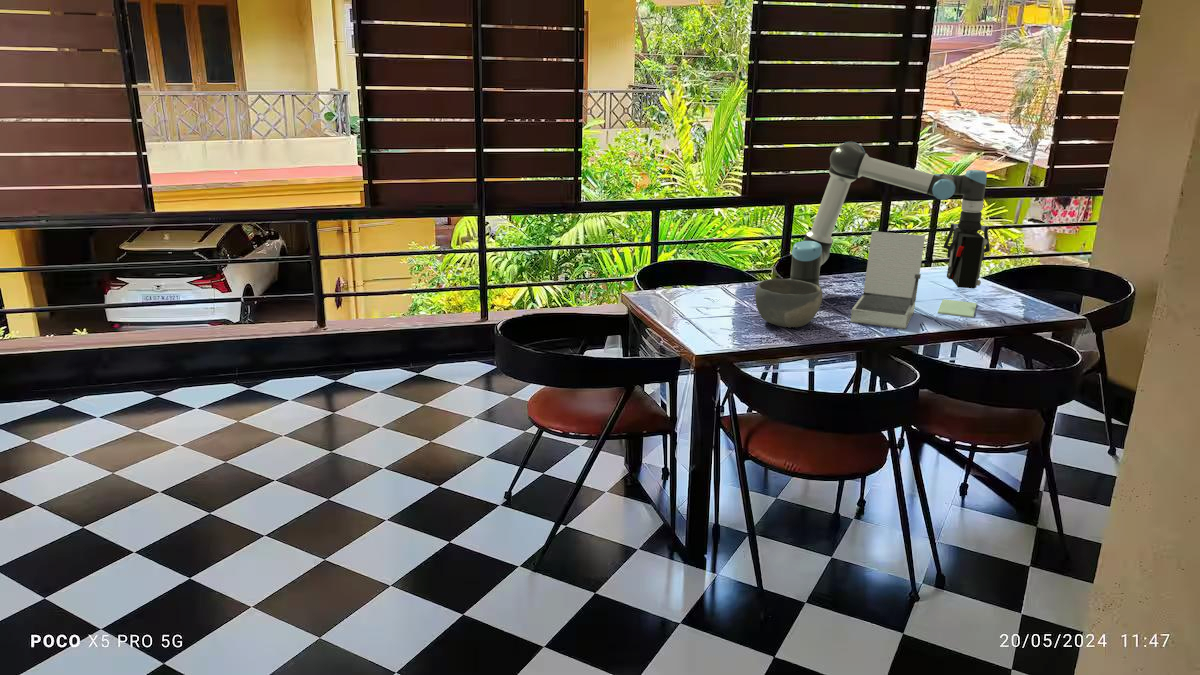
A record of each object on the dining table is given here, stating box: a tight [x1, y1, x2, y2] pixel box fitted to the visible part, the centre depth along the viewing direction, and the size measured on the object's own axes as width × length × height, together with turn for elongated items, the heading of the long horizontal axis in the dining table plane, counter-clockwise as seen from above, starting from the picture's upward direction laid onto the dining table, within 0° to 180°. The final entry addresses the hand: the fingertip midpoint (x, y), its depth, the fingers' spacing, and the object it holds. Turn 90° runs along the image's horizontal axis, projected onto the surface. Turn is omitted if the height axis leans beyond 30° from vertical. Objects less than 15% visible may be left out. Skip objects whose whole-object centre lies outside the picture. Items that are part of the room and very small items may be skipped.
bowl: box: [754, 278, 823, 329], centre depth 315 cm, size 24×24×15 cm
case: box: [850, 230, 926, 330], centre depth 325 cm, size 20×31×30 cm, turn 154°
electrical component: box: [946, 227, 988, 289], centre depth 332 cm, size 18×10×20 cm, turn 168°
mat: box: [937, 298, 978, 318], centre depth 339 cm, size 13×21×1 cm, turn 154°
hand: (963, 267), depth 333 cm, fingers open, 9 cm apart
